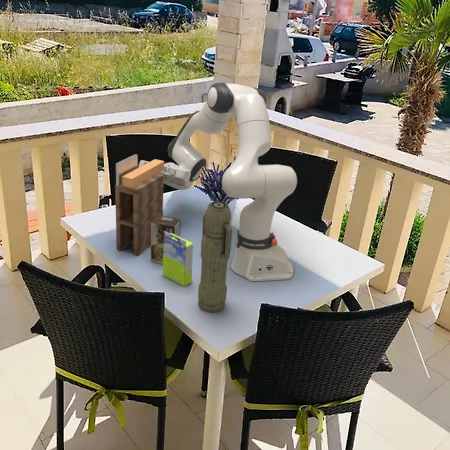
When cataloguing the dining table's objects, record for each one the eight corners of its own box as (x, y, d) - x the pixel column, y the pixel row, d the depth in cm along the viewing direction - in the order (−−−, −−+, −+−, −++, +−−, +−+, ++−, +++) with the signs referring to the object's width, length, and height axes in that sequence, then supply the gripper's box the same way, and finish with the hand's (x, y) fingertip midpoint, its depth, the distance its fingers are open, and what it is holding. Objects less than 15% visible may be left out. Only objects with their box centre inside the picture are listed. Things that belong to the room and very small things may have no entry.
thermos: (208, 291, 172) (214, 194, 157) (234, 307, 165) (243, 207, 149) (188, 301, 166) (193, 201, 151) (214, 318, 159) (222, 215, 144)
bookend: (135, 175, 191) (135, 154, 187) (137, 175, 190) (137, 154, 187) (116, 185, 181) (115, 163, 177) (118, 185, 180) (118, 164, 177)
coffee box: (180, 258, 190) (181, 219, 183) (173, 267, 184) (175, 226, 177) (156, 253, 192) (157, 214, 185) (150, 262, 186) (150, 221, 179)
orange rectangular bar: (155, 167, 199) (155, 159, 197) (164, 169, 197) (164, 161, 196) (122, 185, 180) (122, 176, 179) (132, 188, 179) (132, 178, 178)
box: (192, 282, 176) (194, 237, 169) (184, 287, 173) (186, 241, 166) (169, 270, 182) (171, 226, 174) (161, 275, 179) (162, 230, 171)
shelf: (142, 231, 207) (142, 170, 196) (162, 236, 204) (163, 174, 193) (116, 249, 192) (115, 184, 181) (137, 256, 189) (137, 190, 178)
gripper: (150, 161, 211) (133, 152, 198) (194, 171, 204) (181, 163, 191) (146, 176, 211) (129, 168, 198) (190, 187, 204) (176, 180, 191)
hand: (155, 166), depth 195 cm, fingers open, 8 cm apart
